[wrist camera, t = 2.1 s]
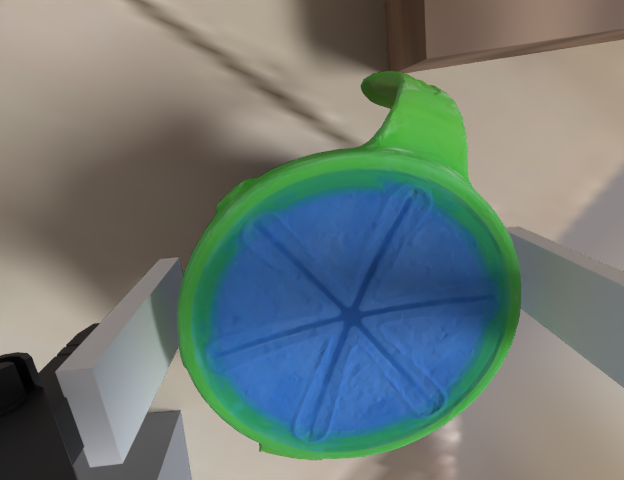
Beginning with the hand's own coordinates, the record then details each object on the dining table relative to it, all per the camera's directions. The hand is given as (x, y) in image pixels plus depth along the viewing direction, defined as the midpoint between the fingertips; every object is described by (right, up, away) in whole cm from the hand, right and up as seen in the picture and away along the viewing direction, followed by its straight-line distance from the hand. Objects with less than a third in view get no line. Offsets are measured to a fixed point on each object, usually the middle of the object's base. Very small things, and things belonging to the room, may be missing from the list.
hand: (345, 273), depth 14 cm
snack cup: (-1, +2, +6) cm, 6 cm away
